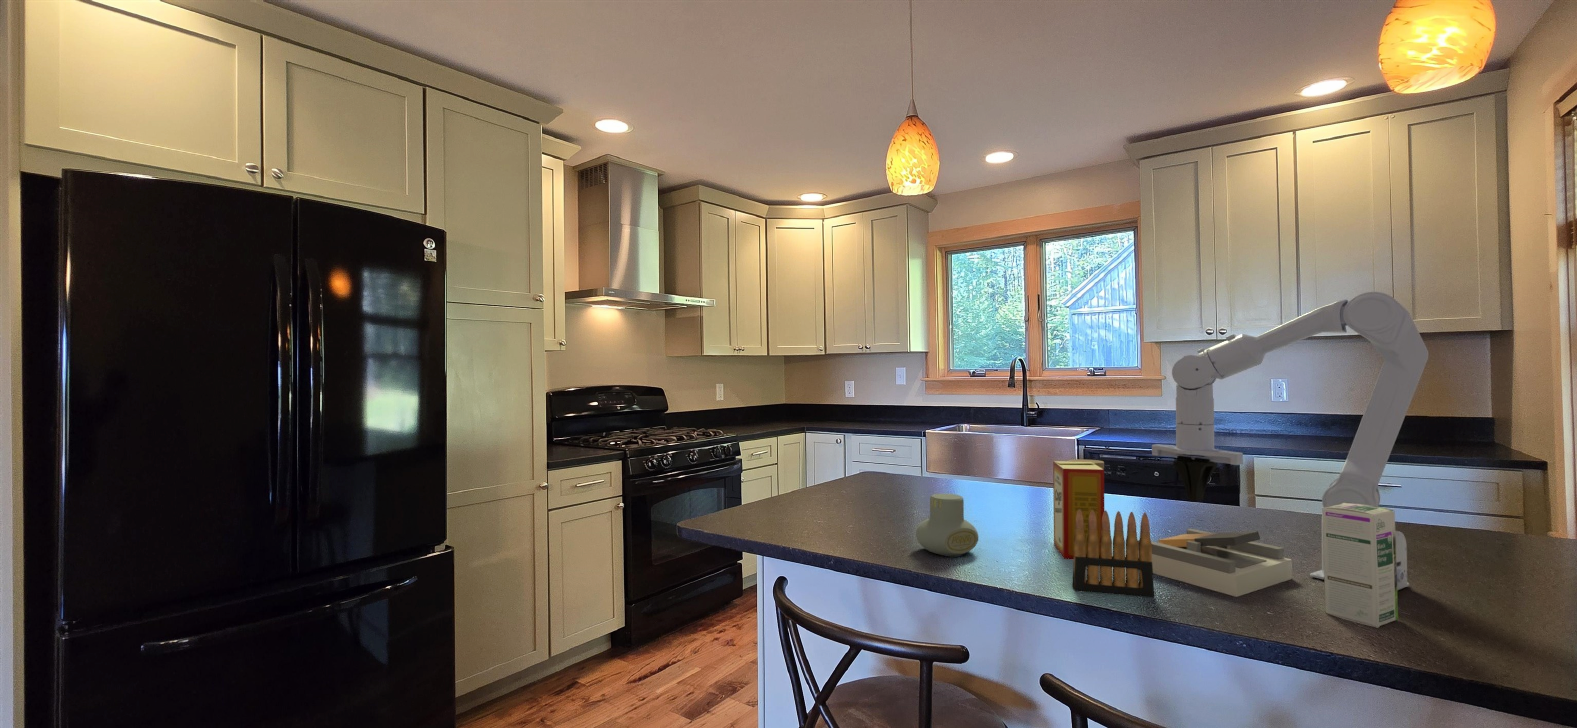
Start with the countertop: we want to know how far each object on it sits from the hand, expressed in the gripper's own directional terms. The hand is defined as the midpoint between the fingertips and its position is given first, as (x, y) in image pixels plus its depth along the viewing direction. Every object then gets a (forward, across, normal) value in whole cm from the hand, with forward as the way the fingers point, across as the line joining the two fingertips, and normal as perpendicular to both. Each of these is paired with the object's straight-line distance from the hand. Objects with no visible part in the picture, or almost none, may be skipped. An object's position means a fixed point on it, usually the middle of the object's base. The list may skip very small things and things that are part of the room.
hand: (1195, 500), depth 114 cm
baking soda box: (+10, -11, -17) cm, 22 cm away
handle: (+10, -16, -8) cm, 20 cm away
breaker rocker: (+5, +7, -9) cm, 12 cm away
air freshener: (+10, -23, -37) cm, 45 cm away
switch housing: (+9, +7, -9) cm, 15 cm away
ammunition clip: (+10, +5, -30) cm, 32 cm away
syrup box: (+10, +27, -11) cm, 31 cm away
